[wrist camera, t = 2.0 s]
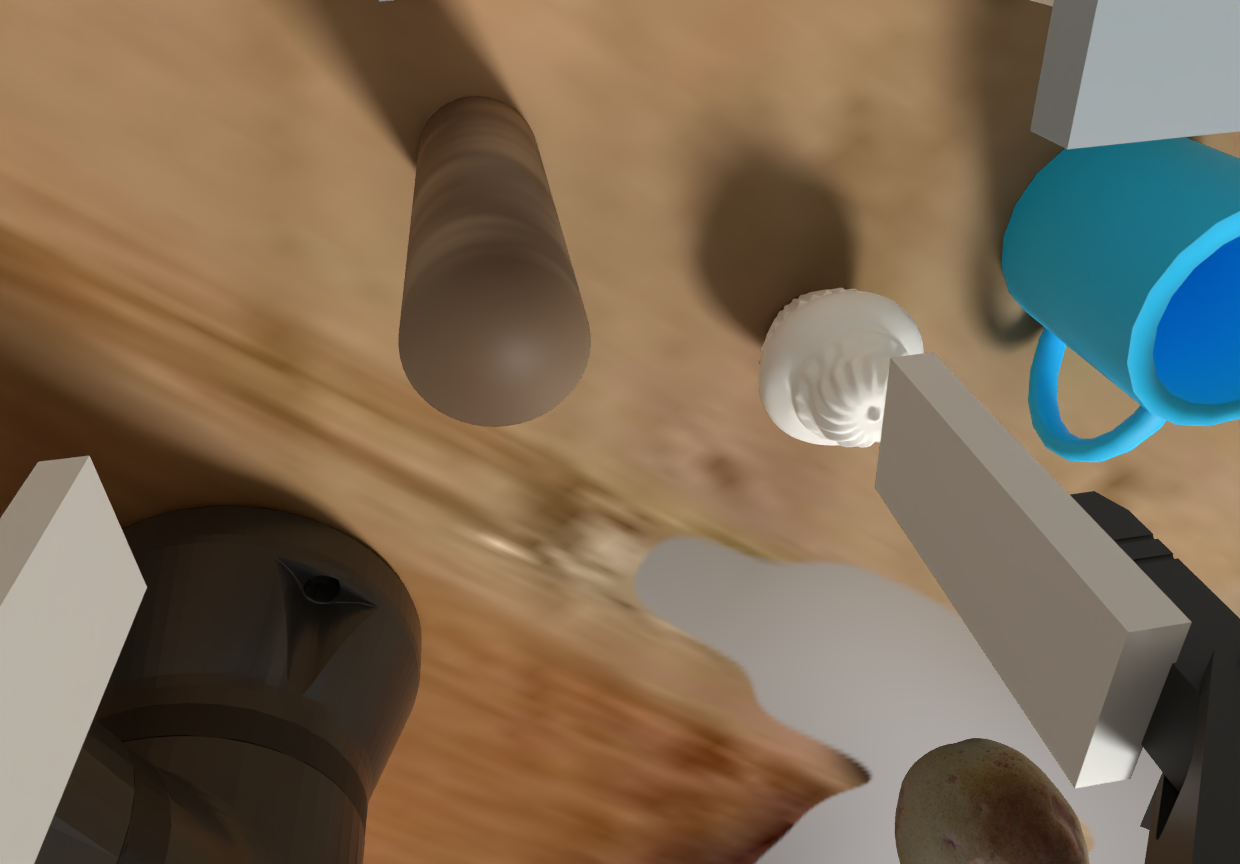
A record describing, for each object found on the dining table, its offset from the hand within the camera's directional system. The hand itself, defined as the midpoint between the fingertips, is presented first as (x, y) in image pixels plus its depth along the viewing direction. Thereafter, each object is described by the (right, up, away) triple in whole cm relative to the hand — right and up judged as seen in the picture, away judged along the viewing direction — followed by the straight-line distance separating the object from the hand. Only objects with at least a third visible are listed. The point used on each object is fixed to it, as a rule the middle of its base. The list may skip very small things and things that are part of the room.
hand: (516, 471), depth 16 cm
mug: (+20, +7, +22) cm, 30 cm away
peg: (-3, +10, +15) cm, 19 cm away
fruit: (+21, -19, +38) cm, 48 cm away
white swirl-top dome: (+9, +5, +21) cm, 24 cm away
